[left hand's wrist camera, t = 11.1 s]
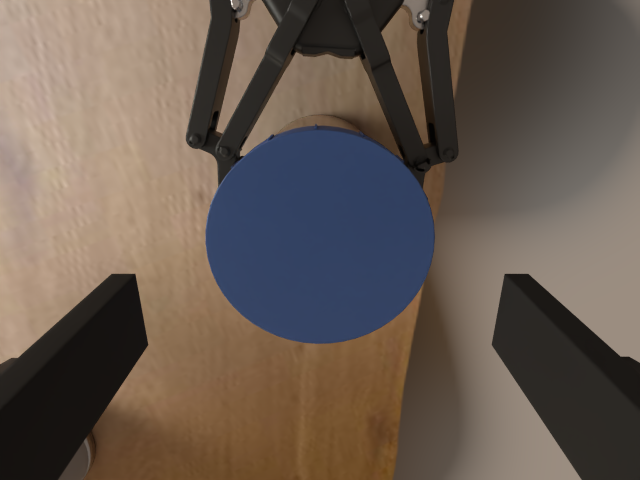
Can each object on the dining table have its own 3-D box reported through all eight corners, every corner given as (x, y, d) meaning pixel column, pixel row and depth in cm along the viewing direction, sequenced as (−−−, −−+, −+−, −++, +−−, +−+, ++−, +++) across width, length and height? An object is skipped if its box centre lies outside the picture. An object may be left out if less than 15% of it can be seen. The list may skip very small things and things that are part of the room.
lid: (250, 337, 23) (244, 361, 21) (186, 154, 19) (171, 162, 17) (436, 300, 22) (447, 321, 20) (406, 100, 18) (417, 102, 16)
